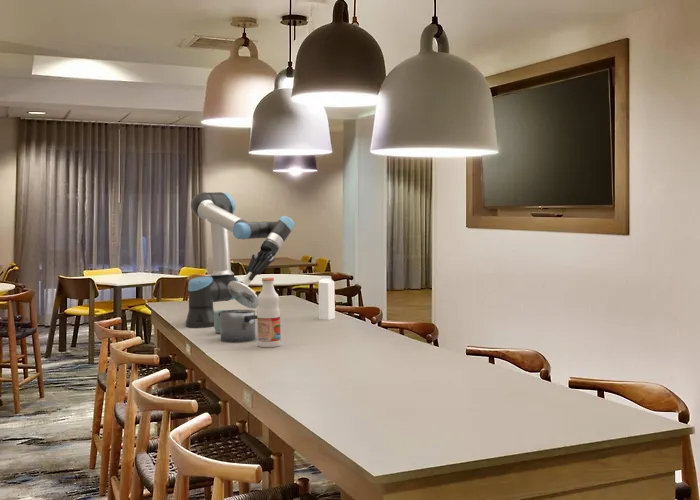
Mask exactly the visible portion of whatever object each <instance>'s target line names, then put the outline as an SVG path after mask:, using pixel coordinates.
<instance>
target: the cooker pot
mask: <svg viewBox="0 0 700 500" xmlns="http://www.w3.org/2000/svg"><path fill="white" fill-rule="evenodd" d="M225 310H226V311H221V312H220V313H219V316H220V333H219V335H220V341H221V342H224V343H245V342H252V341H255V340H256V339H257V338H256V337H257V336H256V320H257V314H256V310H253V309H225Z"/></svg>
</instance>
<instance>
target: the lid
mask: <svg viewBox="0 0 700 500" xmlns="http://www.w3.org/2000/svg"><path fill="white" fill-rule="evenodd" d="M228 291H229V293H230V294H231V295H232V297H233V298H234V299H233V300H235V301H236V302H238V303H239V304H240V305H241V306H243V307H246V308H247V309H248V308H249V309H252V310H253V309H256V308H257V309H258V307H259V306H258V302H257V298H258V295H257V291H256V290H255V289H253V288H251V287H249V285H248V286H247V285H245V284H244V283H243V281H239V280H238V281H231V282H230V283H229V284H228Z"/></svg>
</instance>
